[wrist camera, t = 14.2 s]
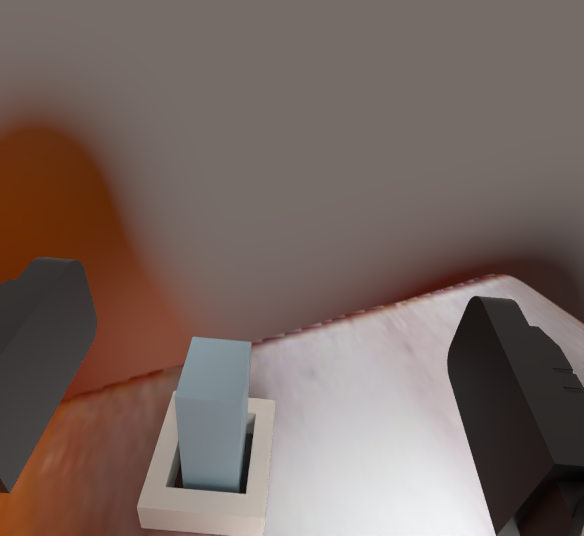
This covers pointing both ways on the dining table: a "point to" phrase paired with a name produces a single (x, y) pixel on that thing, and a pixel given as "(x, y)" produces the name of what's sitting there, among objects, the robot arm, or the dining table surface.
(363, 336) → the dining table surface
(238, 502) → the end cap
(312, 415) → the dining table surface
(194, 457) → the blue-grey rectangular block
